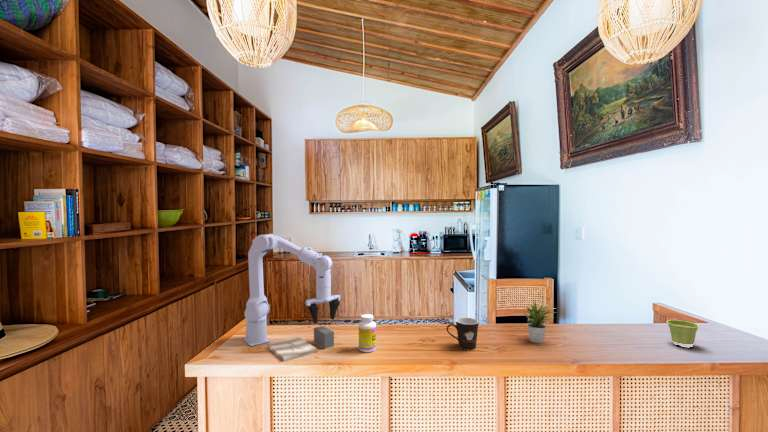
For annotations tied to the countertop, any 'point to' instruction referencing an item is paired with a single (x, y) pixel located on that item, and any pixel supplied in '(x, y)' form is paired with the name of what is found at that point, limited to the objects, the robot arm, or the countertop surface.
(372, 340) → the supplement bottle
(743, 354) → the countertop surface
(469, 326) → the coffee mug
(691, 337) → the plant pot
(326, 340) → the block
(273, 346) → the ash board
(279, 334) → the countertop surface
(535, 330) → the house plant
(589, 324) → the countertop surface
